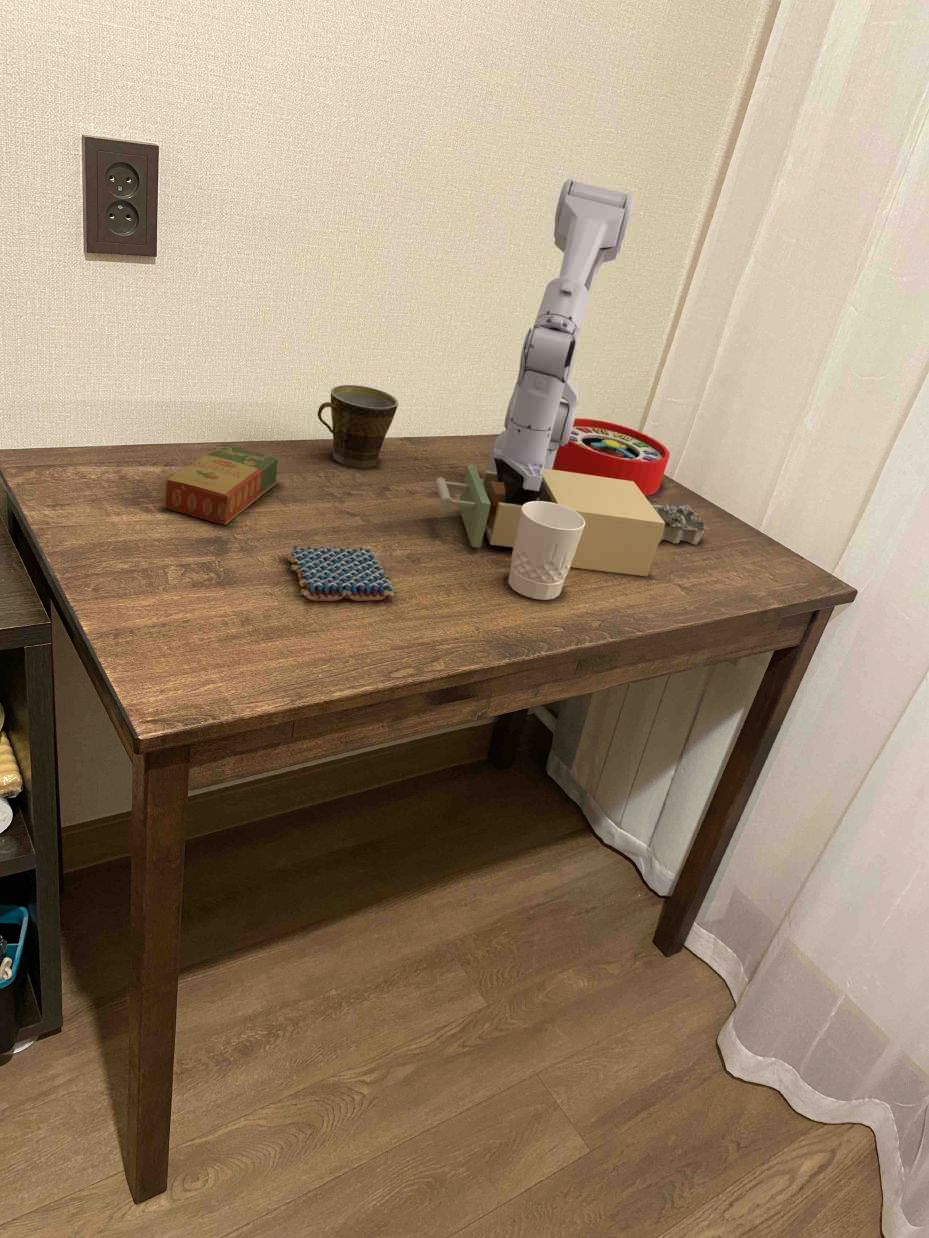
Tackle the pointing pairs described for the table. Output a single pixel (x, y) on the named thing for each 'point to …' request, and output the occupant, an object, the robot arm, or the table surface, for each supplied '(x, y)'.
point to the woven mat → (340, 574)
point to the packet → (495, 500)
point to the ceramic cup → (359, 423)
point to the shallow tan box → (608, 521)
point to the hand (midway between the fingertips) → (507, 518)
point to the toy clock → (613, 454)
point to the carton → (221, 483)
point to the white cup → (544, 549)
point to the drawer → (483, 508)
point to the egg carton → (680, 523)
